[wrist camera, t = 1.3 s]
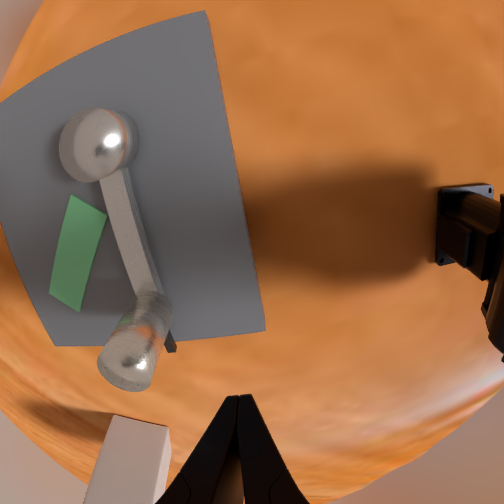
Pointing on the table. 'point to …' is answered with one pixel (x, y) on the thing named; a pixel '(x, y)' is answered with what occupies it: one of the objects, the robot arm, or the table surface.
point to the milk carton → (130, 464)
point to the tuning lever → (122, 243)
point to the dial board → (144, 186)
